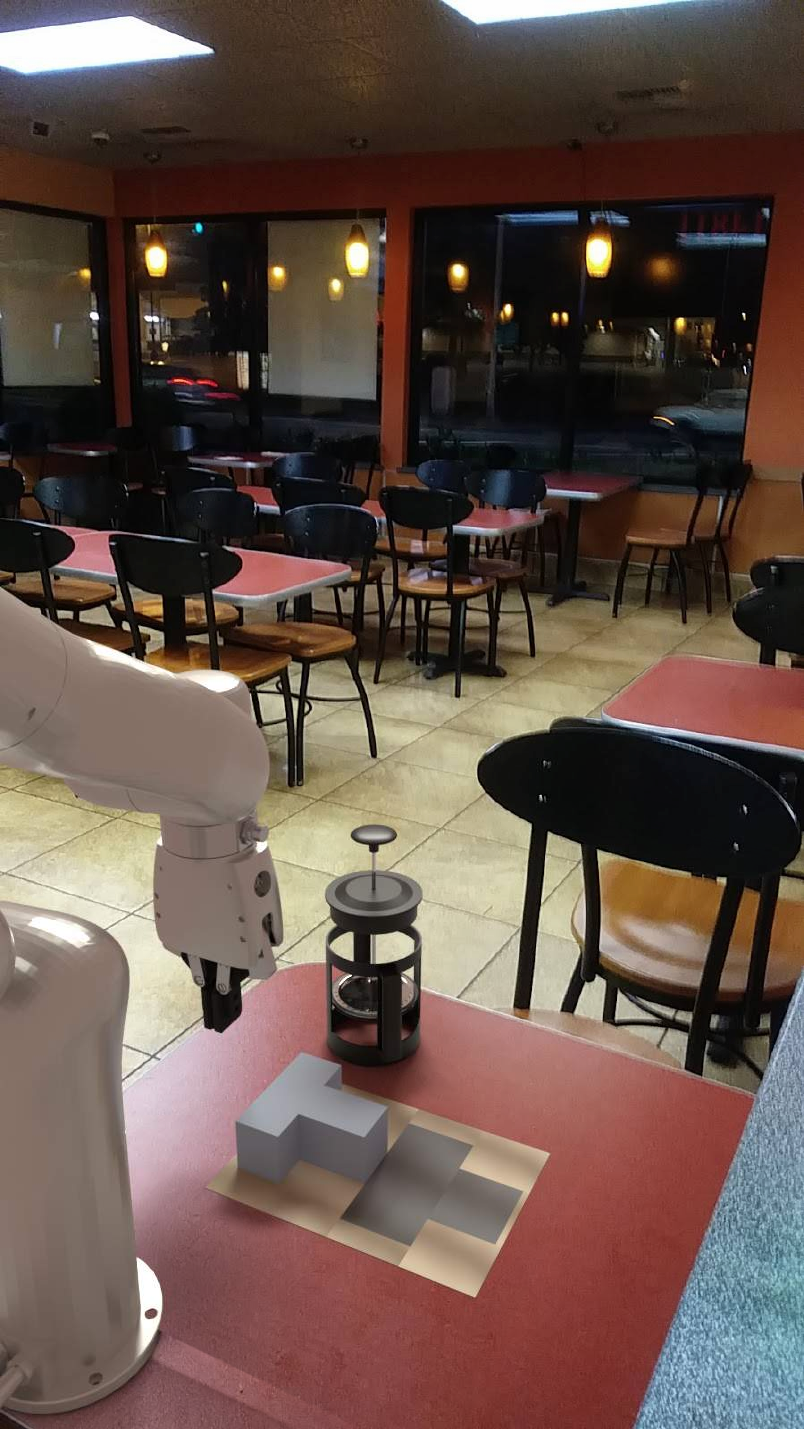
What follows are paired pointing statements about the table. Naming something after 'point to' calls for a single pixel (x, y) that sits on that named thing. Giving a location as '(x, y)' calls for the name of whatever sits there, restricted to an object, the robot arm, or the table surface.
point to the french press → (374, 957)
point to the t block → (311, 1125)
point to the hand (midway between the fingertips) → (223, 1021)
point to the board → (409, 1196)
